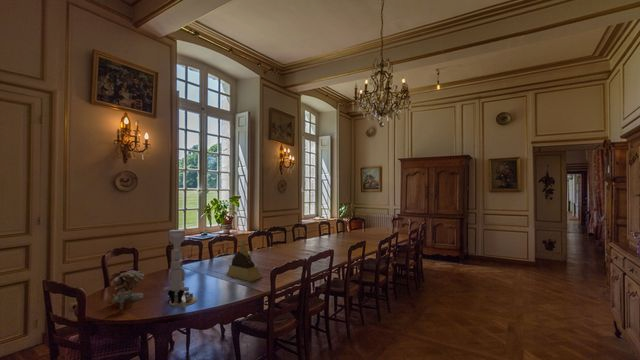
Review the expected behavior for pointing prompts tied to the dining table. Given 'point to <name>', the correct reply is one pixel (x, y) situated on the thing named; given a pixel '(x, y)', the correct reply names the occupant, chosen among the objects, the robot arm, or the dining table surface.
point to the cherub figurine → (128, 285)
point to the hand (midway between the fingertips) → (176, 302)
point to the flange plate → (186, 302)
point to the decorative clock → (243, 265)
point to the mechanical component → (121, 297)
